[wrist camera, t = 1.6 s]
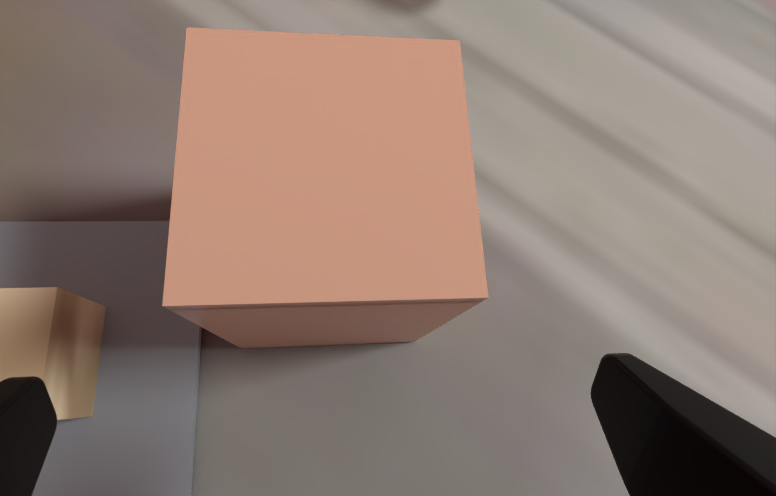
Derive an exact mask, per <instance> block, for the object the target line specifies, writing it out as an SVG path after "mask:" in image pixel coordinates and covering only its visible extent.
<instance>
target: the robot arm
mask: <svg viewBox="0 0 776 496" xmlns="http://www.w3.org/2000/svg"><path fill="white" fill-rule="evenodd" d="M591 399H592V403H593V406H594V408H595V411H596V413H597V416H598V419H599V421H600V424H601V426H602V429H603V431H604V434H605V436H606V439H607V442H608V444H609V447H610V449H611V452H612V454H613V457H614V459H615V462H616V465H617V467H618V470H619V472H620V475H621V477H622V479H623V482H624V484H625V486H626V488H627V490H628V493H629V495H630V496H776V438H775V437H774V436H772V435H770V434H768V433H767V432H765V431H763V430H761V429H760V428H758V427H756V426H755V425H753V424H751V423H749V422H748V421H746V420H744V419H742V418H741V417H739V416H737V415H735V414H734V413H732V412H730V411H728V410H727V409H725V408H723V407H722V406H720V405H718V404H716V403H715V402H713V401H711V400H709V399H708V398H706V397H704V396H702V395H701V394H699V393H697V392H696V391H694V390H692V389H690V388H689V387H687V386H685V385H683V384H682V383H680V382H678V381H676V380H675V379H673V378H671V377H669V376H668V375H666V374H664V373H663V372H661V371H659V370H657V369H656V368H654V367H652V366H650V365H649V364H647V363H645V362H643V361H642V360H640V359H638V358H637V357H635V356H633V355H631V354H628V353H611V354H606V355H604V356H603V357H602V359H601V361H600V364H599V367H598V370H597V373H596V376H595V379H594V381H593V384H592V388H591ZM56 427H57V415H56V412H55V409H54V406H53V404H52V401H51V398H50V396H49V393H48V391H47V388H46V385H45V383H44V381H43V380H42V379H41V378H39V377H36V376H29V377H11V378H7V379H4V380H3V381H1V382H0V496H32V494H33V491H34V489H35V486H36V483H37V480H38V478H39V475H40V472H41V470H42V467H43V464H44V461H45V459H46V456H47V453H48V451H49V448H50V445H51V443H52V440H53V437H54V434H55V431H56Z"/></svg>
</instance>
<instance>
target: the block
mask: <svg viewBox="0 0 776 496" xmlns="http://www.w3.org/2000/svg"><path fill="white" fill-rule="evenodd" d="M105 311H106V306H103V305H101V304H98V303H96V302H93V301H91V300H88V299H86V298H83V297H81V296H78V295H76V294H73V293H71V292H68V291H66V290H63V289H61V288H58V287H41V288H0V382H1V381H3V380H4V379H7V378H11V377H29V376H36V377H39V378H41V379H42V380H43V381H44V383H45V385H46V388H47V391H48V393H49V396H50V398H51V401H52V404H53V406H54V409H55V412H56V415H57V420H62V419H72V418H83V417H93V409H94V401H95V393H96V384H97V376H98V368H99V360H100V352H101V344H102V336H103V327H104V319H105Z"/></svg>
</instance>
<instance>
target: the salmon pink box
mask: <svg viewBox="0 0 776 496" xmlns="http://www.w3.org/2000/svg"><path fill="white" fill-rule="evenodd" d="M487 298H488V290H487V281H486V272H485V263H484V254H483V245H482V236H481V227H480V218H479V209H478V200H477V192H476V183H475V174H474V165H473V156H472V147H471V138H470V129H469V120H468V111H467V102H466V93H465V84H464V75H463V66H462V57H461V48H460V41H458V40H437V39H416V38H395V37H374V36H353V35H332V34H311V33H290V32H269V31H248V30H227V29H206V28H187V31H186V43H185V54H184V65H183V77H182V88H181V99H180V111H179V122H178V133H177V145H176V156H175V167H174V179H173V190H172V201H171V213H170V224H169V235H168V247H167V258H166V269H165V281H164V292H163V303H162V306H163V307H165V308H167V309H169V310H170V311H172V312H174V313H176V314H178V315H180V316H182V317H183V318H185V319H187V320H189V321H191V322H193V323H195V324H197V325H198V326H200V327H202V328H204V329H206V330H208V331H210V332H211V333H213V334H215V335H217V336H219V337H221V338H223V339H225V340H226V341H228V342H230V343H232V344H234V345H236V346H238V347H240V348H259V347H285V346H312V345H338V344H365V343H391V342H415V341H416V340H418V339H420V338H421V337H423V336H425V335H426V334H428V333H430V332H431V331H433V330H435V329H437V328H438V327H440V326H442V325H443V324H445V323H447V322H448V321H450V320H452V319H453V318H455V317H457V316H458V315H460V314H462V313H463V312H465V311H467V310H468V309H470V308H472V307H473V306H475V305H477V304H479V303H480V302H482V301H484V300H485V299H487Z"/></svg>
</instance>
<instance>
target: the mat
mask: <svg viewBox="0 0 776 496" xmlns="http://www.w3.org/2000/svg"><path fill="white" fill-rule="evenodd" d="M169 224H170V221H0V288H41V287H58V288H61V289H63V290H66V291H68V292H71V293H73V294H76V295H78V296H81V297H83V298H86V299H88V300H91V301H93V302H96V303H98V304H101V305H103V306H106V311H105V319H104V327H103V336H102V344H101V352H100V360H99V368H98V376H97V384H96V393H95V401H94V409H93V417H83V418H72V419H62V420H57V427H56V431H55V434H54V437H53V440H52V443H51V445H50V448H49V451H48V453H47V456H46V459H45V461H44V464H43V467H42V470H41V472H40V475H39V478H38V480H37V483H36V486H35V489H34V491H33V494H32V496H191V494H192V478H193V462H194V447H195V431H196V415H197V399H198V383H199V367H200V352H201V336H202V327H200V326H198V325H197V324H195V323H193V322H191V321H189V320H187V319H185V318H183V317H182V316H180V315H178V314H176V313H174V312H172V311H170V310H169V309H167V308H165V307H163V306H162V303H163V292H164V281H165V269H166V258H167V247H168V235H169Z"/></svg>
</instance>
